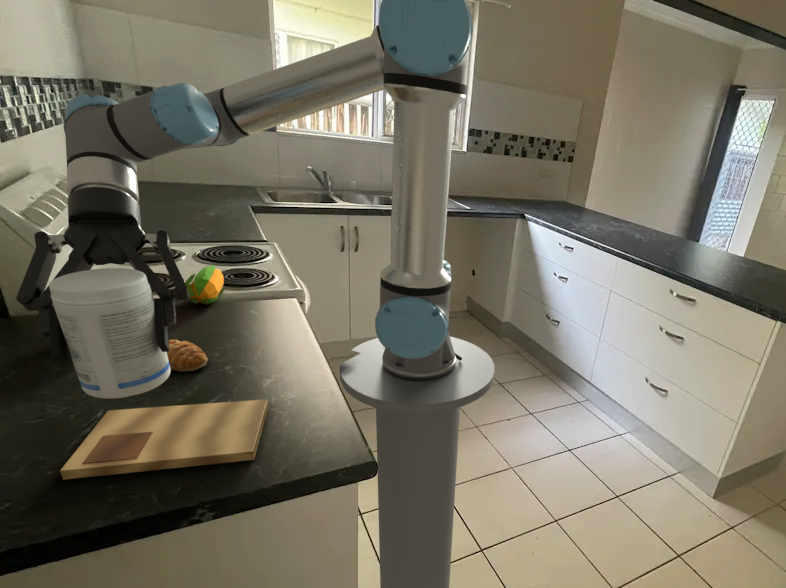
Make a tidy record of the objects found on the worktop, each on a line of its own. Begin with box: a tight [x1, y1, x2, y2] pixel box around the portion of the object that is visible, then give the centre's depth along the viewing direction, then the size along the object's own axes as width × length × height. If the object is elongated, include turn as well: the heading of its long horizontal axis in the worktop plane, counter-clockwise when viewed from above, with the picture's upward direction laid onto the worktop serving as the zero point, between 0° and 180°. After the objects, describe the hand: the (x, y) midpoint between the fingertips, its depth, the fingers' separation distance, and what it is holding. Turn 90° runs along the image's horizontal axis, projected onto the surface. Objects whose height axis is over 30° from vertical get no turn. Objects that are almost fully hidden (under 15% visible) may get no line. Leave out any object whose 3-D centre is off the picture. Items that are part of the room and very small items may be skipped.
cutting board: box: [59, 398, 270, 481], centre depth 69 cm, size 22×14×2 cm, turn 107°
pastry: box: [167, 339, 209, 373], centre depth 88 cm, size 9×7×4 cm
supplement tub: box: [48, 267, 172, 400], centre depth 61 cm, size 10×10×15 cm
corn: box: [184, 264, 225, 306], centre depth 119 cm, size 7×8×20 cm
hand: (113, 353), depth 59 cm, fingers closed on supplement tub, 10 cm apart
